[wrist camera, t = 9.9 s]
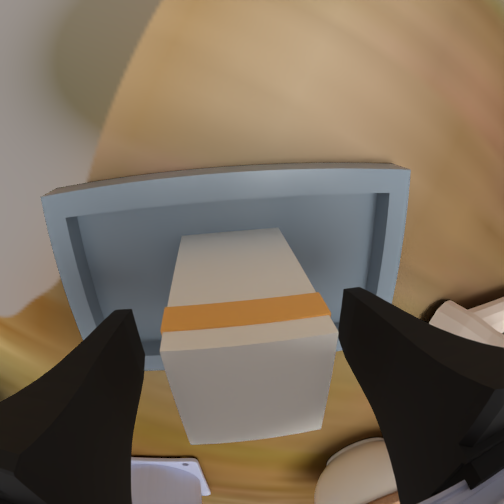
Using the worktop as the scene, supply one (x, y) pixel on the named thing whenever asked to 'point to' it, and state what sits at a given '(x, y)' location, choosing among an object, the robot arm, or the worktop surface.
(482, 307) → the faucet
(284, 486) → the worktop surface
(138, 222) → the tray
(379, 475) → the lidded jar
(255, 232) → the cartridge
